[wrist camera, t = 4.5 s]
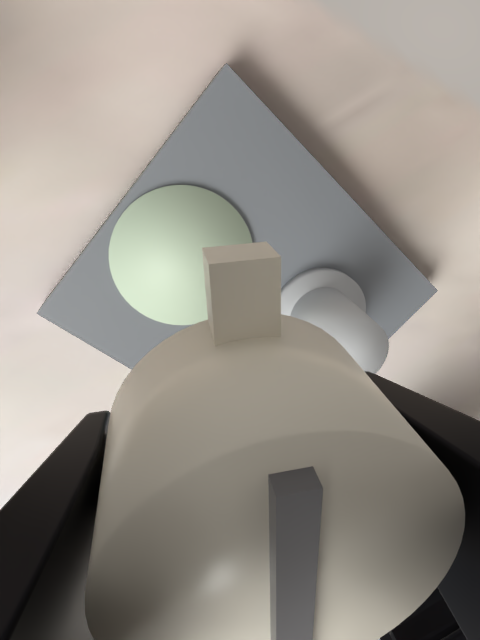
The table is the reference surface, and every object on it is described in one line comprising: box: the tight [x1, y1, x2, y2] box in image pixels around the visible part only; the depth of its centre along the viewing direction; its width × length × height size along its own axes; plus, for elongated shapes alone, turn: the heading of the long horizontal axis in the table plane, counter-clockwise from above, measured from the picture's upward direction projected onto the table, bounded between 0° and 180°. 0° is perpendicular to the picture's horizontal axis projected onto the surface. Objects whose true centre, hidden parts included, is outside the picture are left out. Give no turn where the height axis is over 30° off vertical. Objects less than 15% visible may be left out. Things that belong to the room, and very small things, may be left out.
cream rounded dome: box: [85, 242, 465, 640], centre depth 6 cm, size 7×5×3 cm
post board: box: [37, 63, 438, 374], centre depth 18 cm, size 15×13×6 cm
